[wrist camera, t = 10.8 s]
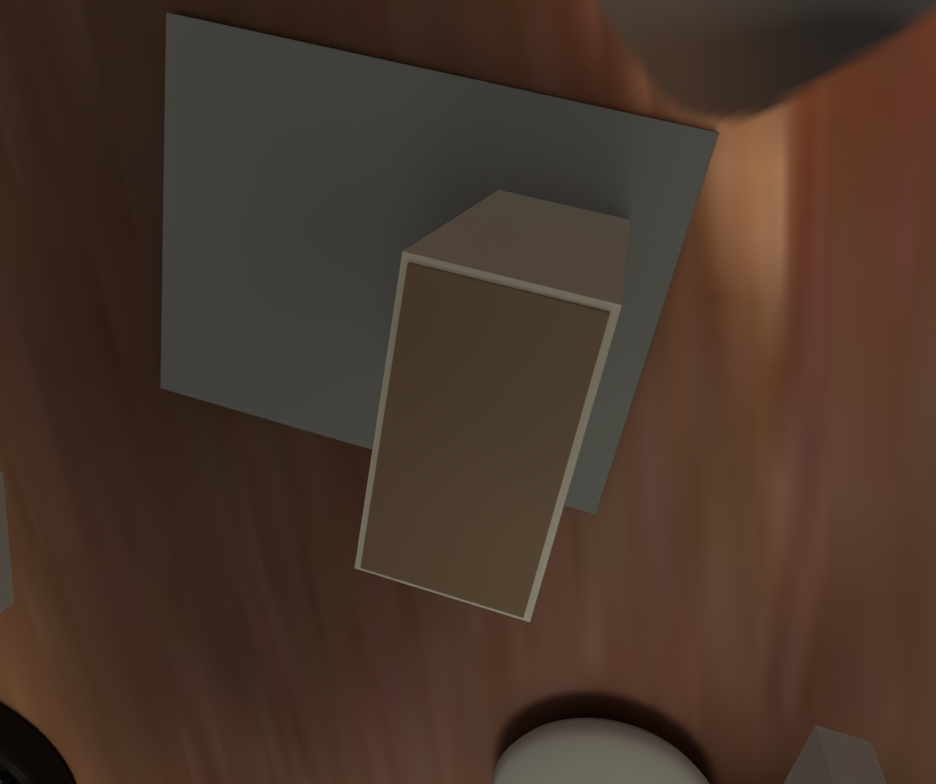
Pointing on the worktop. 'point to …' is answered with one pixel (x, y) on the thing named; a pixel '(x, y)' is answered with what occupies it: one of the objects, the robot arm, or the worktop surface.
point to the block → (489, 396)
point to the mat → (377, 218)
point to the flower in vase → (594, 756)
